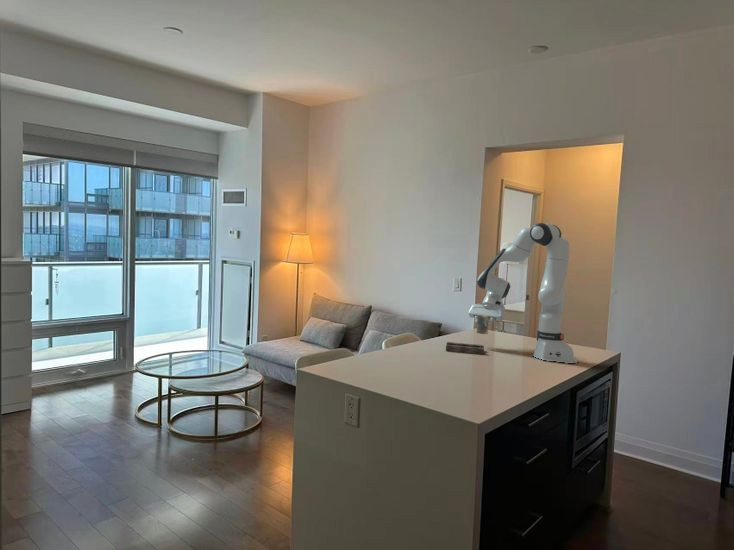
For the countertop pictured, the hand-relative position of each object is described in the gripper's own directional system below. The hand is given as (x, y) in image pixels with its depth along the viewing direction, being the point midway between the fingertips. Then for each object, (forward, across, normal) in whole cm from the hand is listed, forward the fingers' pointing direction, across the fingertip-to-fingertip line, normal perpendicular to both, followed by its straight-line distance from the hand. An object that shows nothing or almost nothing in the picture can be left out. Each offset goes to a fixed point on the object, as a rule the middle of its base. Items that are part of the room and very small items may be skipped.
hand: (482, 323), depth 299 cm
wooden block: (+3, 0, +4) cm, 5 cm away
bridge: (+19, -3, 0) cm, 19 cm away
